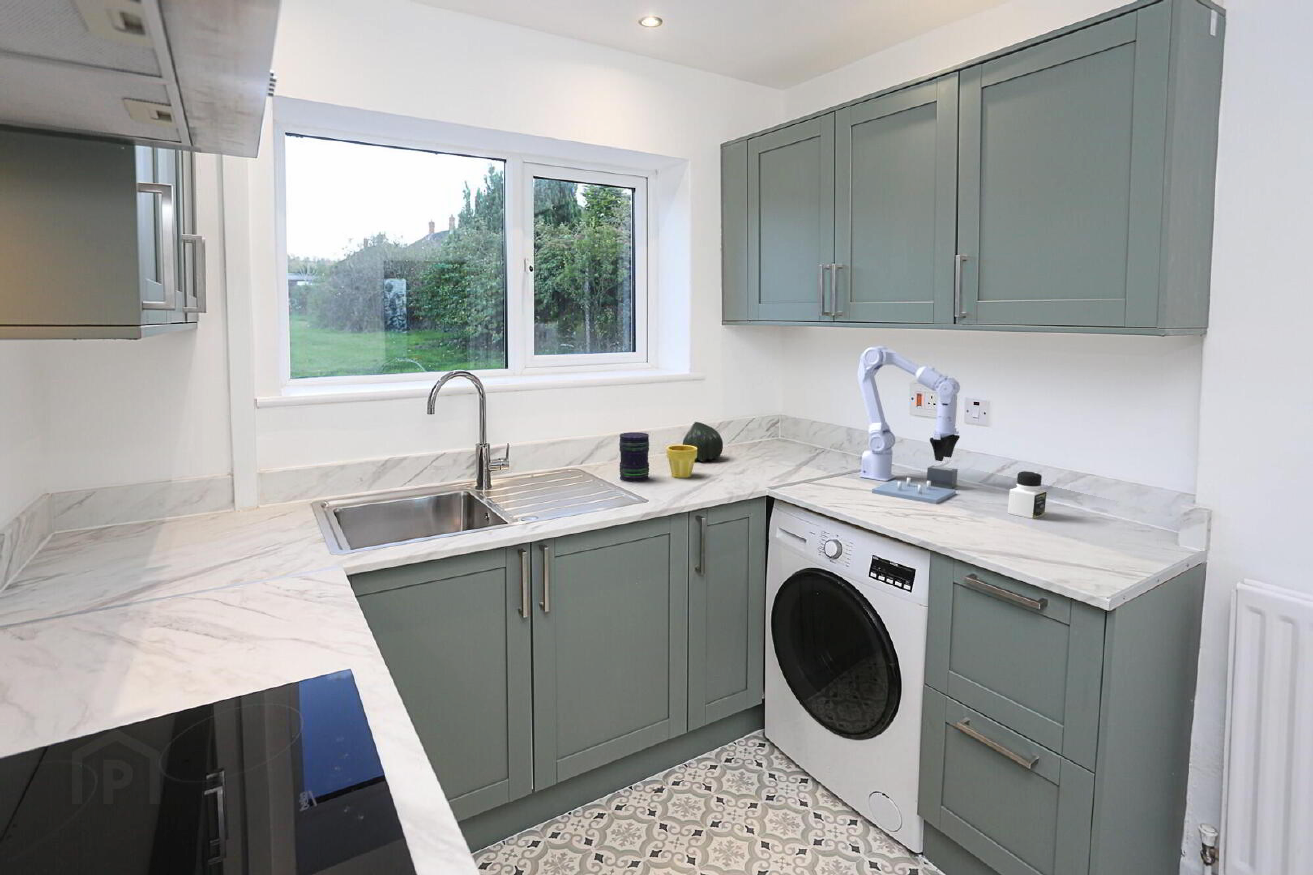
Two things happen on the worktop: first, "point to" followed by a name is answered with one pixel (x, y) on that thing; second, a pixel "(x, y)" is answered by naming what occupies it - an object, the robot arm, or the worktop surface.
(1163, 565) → the worktop surface
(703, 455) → the squash
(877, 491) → the tray
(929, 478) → the grey notched block
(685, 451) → the plant pot
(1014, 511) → the medicine bottle
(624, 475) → the storage jar
